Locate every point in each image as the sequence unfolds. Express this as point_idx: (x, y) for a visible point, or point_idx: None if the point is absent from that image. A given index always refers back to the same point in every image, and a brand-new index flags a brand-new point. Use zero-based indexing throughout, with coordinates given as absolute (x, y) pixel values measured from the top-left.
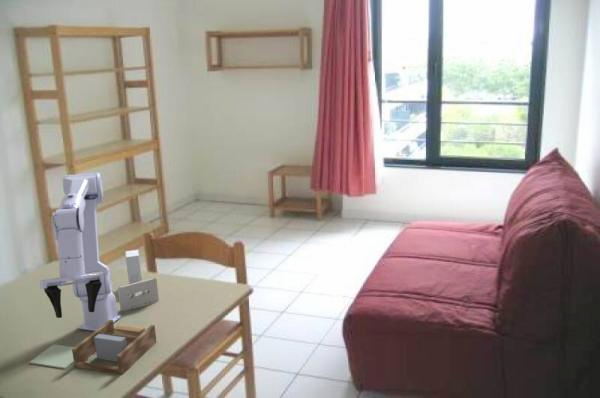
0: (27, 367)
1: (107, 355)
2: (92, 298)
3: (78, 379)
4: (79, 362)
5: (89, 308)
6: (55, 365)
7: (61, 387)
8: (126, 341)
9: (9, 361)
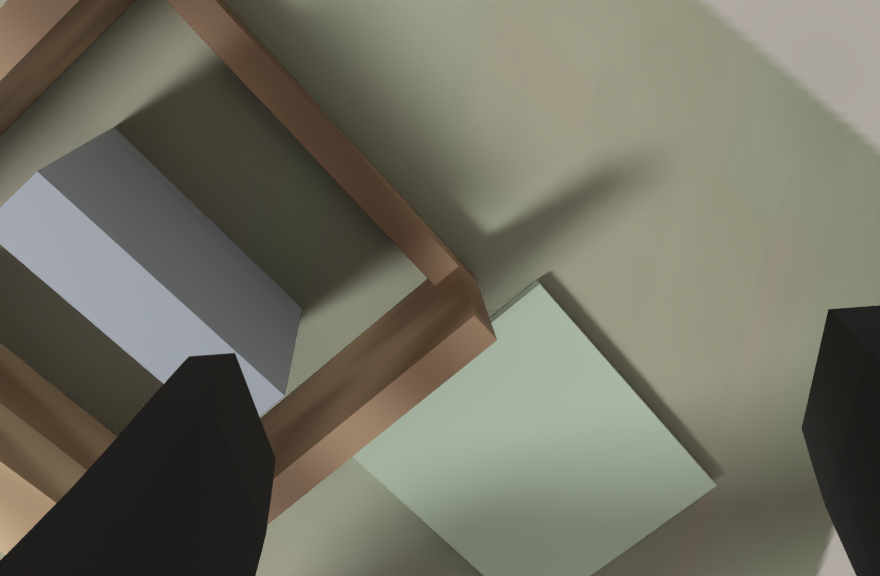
0: (738, 439)
1: (221, 248)
2: (91, 568)
3: (493, 74)
4: (440, 275)
5: (248, 479)
6: (590, 351)
7: (629, 33)
8: (40, 396)
9: (801, 562)
